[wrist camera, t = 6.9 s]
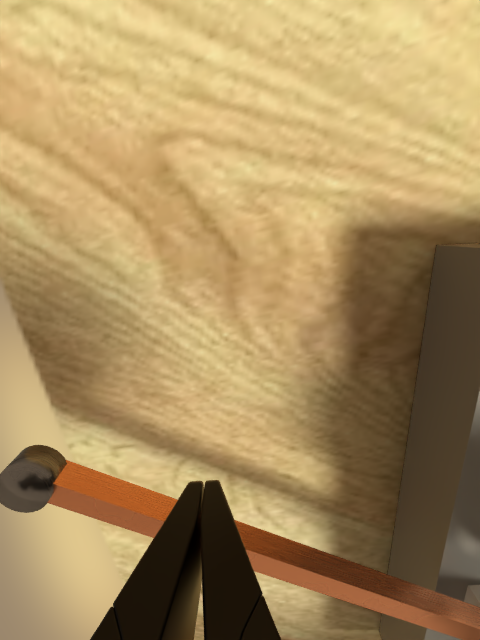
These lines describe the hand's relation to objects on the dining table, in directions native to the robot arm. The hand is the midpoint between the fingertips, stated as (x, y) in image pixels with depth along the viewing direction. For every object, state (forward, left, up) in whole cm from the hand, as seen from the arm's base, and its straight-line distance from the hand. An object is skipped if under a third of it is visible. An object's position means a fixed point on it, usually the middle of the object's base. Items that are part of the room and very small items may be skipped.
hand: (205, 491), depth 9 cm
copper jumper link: (-3, -3, 0) cm, 5 cm away
